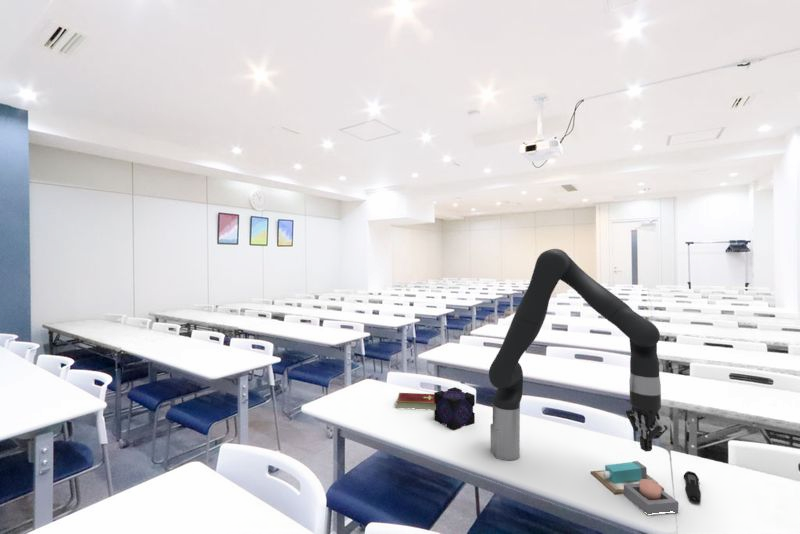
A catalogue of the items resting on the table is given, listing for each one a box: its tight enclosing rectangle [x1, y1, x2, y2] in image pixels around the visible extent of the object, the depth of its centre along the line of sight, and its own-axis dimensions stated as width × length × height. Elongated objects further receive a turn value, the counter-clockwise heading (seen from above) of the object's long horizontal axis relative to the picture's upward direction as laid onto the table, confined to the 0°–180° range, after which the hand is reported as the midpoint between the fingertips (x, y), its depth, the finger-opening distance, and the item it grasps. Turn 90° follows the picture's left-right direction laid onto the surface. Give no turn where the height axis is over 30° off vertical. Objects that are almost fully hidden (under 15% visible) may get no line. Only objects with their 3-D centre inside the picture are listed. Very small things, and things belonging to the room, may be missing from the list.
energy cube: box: [433, 386, 476, 432], centre depth 157 cm, size 12×12×12 cm
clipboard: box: [590, 469, 665, 495], centre depth 114 cm, size 16×11×1 cm
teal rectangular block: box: [603, 460, 648, 483], centre depth 114 cm, size 12×4×4 cm, turn 97°
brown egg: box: [639, 479, 662, 501], centre depth 104 cm, size 5×5×3 cm
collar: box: [623, 483, 679, 515], centre depth 104 cm, size 9×9×3 cm
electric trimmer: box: [683, 470, 702, 503], centre depth 110 cm, size 4×16×3 cm, turn 144°
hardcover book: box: [396, 392, 436, 411], centre depth 176 cm, size 12×21×4 cm, turn 84°
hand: (645, 450), depth 107 cm, fingers closed
